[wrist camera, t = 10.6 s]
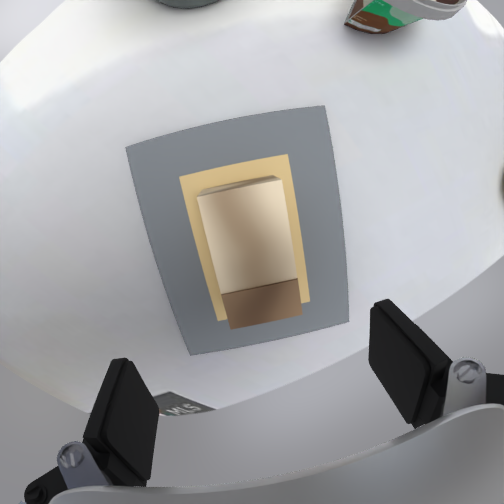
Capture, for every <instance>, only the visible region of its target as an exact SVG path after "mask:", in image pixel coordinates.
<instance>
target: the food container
mask: <svg viewBox="0 0 504 504" xmlns="http://www.w3.org/2000/svg"><path fill="white" fill-rule="evenodd" d="M466 2H467V0H354V3H353V5H352V7H351V10H350V12H349V14H348V16H347V19H346V21H345V23H344V24H345V25H347V26H349V27H351V28H353V29H355V30H359V31H363V32H367V33H370V34H385V33H388V32H390V31H393V30H396V29H398V28H400V27H403V26H405V25H408V24H410V23H413V22H415V21H418V20H420V19H423V18H425V19H430V20H445V19H448V18H451V17H452V16H453V15H455V14H456V13H457V12H458V11H459V10H460V9H461V8H463V7H464V5H465V4H466Z"/></svg>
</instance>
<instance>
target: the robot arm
mask: <svg viewBox="0 0 504 504" xmlns="http://www.w3.org/2000/svg"><path fill="white" fill-rule="evenodd" d="M369 364H370V366H371V368H372V370H373V371H374V373H375V374H376V376H377V377H378V379H379V380H380V382H381V383H382V385H383V387H384V388H385V390H386V391H387V393H388V394H389V396H390V398H391V399H392V400H393V402H394V404H395V405H396V407H397V408H398V410H399V412H400V413H401V415H402V417H403V418H404V420H405V421H406V423H408V424H410V423H411V424H412V425H413V427H414V428H415V430H413V431H411V432H409V433H406V434H404V435H402V436H399V437H397V438H395V439H392V440H390V441H388V442H385V443H383V444H380V445H378V446H375V447H373V448H370V449H367V450H365V451H362V452H359V453H356V454H354V455H351V456H348V457H345V458H342V459H339V460H336V461H333V462H329V463H326V464H322V465H319V466H315V467H311V468H308V469H304V470H299V471H295V472H292V473H287V474H282V475H277V476H272V477H267V478H262V479H255V480H249V481H243V482H235V483H226V484H217V485H207V486H206V485H205V486H189V487H146V483H147V480H149V479H150V477H151V469H152V460H153V453H154V445H155V438H156V430H157V424H158V417H159V408H158V405H157V403H156V402H155V400H154V398H153V397H152V395H151V393H150V392H149V390H148V388H147V387H146V385H145V383H144V381H143V380H142V378H141V376H140V374H139V372H138V371H137V369H136V367H135V365H134V363H133V362H132V361H129V360H128V359H127V358H119V359H113V360H112V361H111V363H110V366H109V368H108V371H107V373H106V376H105V378H104V381H103V383H102V386H101V388H100V391H99V393H98V396H97V399H96V401H95V404H94V407H93V409H92V412H91V415H90V418H89V420H88V423H87V426H86V429H85V432H84V435H83V438H84V439H83V442H82V443H81V442H78V441H74V442H69V443H67V444H65V445H64V446H63V447H62V448H61V449H60V450H59V453H58V455H57V463H58V466H57V467H55V468H54V469H52V470H51V471H49V472H48V473H46V474H44V475H43V476H41V477H40V478H38V479H36V480H35V481H33V482H32V483H30V484H29V485H28V486H27V488H26V490H25V493H24V497H25V503H24V502H22V501H21V502H20V503H19V504H504V375H499V374H490V373H486V369H485V367H484V365H483V364H482V363H481V362H480V361H479V360H477V359H475V358H471V357H462V358H459V359H457V360H455V361H454V362H453V361H452V360H451V359H450V358H449V357H448V356H447V355H446V354H445V353H444V352H443V351H442V350H441V349H440V348H439V347H438V346H437V345H436V344H435V343H434V342H433V341H432V340H431V339H430V338H429V337H428V336H427V335H426V334H425V333H424V332H423V331H422V330H421V329H420V328H419V327H418V326H417V325H416V324H414V323H413V322H412V321H411V320H410V319H409V318H408V317H407V316H406V315H405V314H404V313H403V312H402V311H401V310H400V309H399V308H398V307H397V306H396V305H395V304H394V303H393V302H392V301H391V300H389V299H385V300H382V301H379V302H376V303H374V307H372V308H371V309H370V339H369ZM424 424H425V425H424ZM422 425H423V426H422ZM420 426H421V427H420ZM417 427H419V428H417ZM416 428H417V429H416ZM134 486H140V487H134Z"/></svg>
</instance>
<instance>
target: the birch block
mask: <svg viewBox="0 0 504 504" xmlns="http://www.w3.org/2000/svg"><path fill="white" fill-rule="evenodd" d="M197 200H198V204H199V208H200V213H201V217H202V221H203V225H204V229H205V233H206V237H207V241H208V245H209V249H210V253H211V257H212V261H213V265H214V269H215V273H216V277H217V280H218V284H219V288H220V292H221V297H222V300H223V304H224V308H225V311H226V315H227V319H228V322H229V326H230V329H231V330H232V329H237V328H242V327H247V326H252V325H257V324H262V323H267V322H272V321H277V320H281V319H286V318H290V317H295V316H299V315H303V313H302V306H301V298H300V290H299V283H298V278H297V272H296V265H295V258H294V252H293V245H292V238H291V232H290V226H289V220H288V213H287V207H286V201H285V196H284V190H283V184H282V180H281V179H280V178H278V177H276V176H274V175H269V176H264V177H259V178H253V179H248V180H243V181H238V182H234V183H229V184H224V185H219V186H215V187H210V188H206V189H202V191H201V192H200V193H199V195H198V196H197Z"/></svg>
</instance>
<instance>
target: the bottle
mask: <svg viewBox="0 0 504 504" xmlns="http://www.w3.org/2000/svg"><path fill="white" fill-rule="evenodd" d="M158 1H159V2H161V3H163V4H166V5H169V6H172V7H177V8H194V7H202V6H205V5H208V4H211V3H214V2H216V1H218V0H158Z"/></svg>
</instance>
